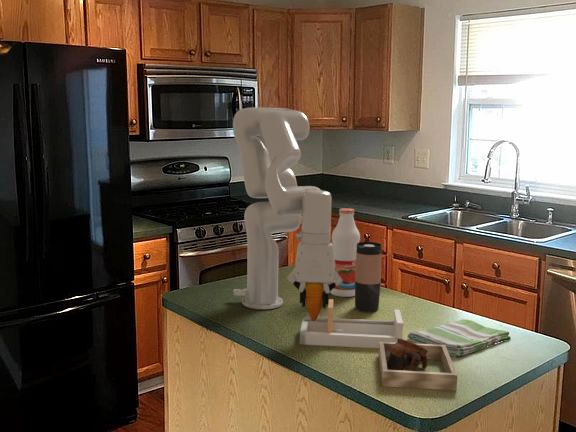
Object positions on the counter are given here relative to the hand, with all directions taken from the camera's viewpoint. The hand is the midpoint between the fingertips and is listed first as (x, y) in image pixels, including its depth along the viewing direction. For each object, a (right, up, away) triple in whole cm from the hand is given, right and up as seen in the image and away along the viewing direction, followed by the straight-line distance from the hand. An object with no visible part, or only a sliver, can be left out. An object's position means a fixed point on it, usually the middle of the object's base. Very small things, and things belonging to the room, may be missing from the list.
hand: (314, 305), depth 169 cm
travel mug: (+17, -5, +27) cm, 32 cm away
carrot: (0, -5, +1) cm, 5 cm away
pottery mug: (+21, -13, -19) cm, 31 cm away
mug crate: (+23, -13, -19) cm, 33 cm away
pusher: (+6, -9, +1) cm, 10 cm away
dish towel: (+39, -10, +2) cm, 40 cm away
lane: (+10, -9, +1) cm, 13 cm away
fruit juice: (+12, -2, +42) cm, 44 cm away
